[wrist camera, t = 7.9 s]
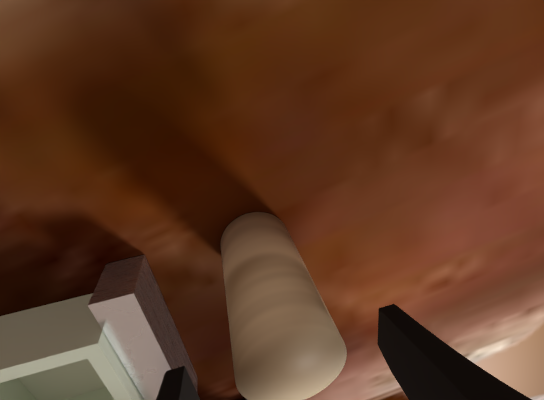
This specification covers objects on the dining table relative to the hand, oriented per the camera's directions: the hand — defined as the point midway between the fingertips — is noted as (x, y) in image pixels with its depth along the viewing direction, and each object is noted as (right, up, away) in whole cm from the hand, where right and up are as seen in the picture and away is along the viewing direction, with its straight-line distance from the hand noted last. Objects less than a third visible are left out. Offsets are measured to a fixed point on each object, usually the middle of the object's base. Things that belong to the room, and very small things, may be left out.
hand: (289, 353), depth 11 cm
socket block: (-12, -3, +7) cm, 15 cm away
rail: (-8, -2, +8) cm, 11 cm away
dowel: (-2, +3, +7) cm, 7 cm away
